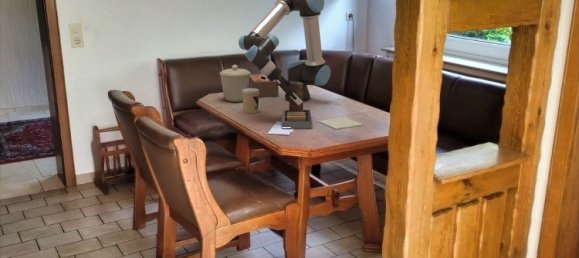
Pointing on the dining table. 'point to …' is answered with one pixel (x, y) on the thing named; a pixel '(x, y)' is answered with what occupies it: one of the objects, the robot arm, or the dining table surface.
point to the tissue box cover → (263, 85)
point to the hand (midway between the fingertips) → (300, 100)
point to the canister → (234, 83)
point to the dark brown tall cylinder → (298, 90)
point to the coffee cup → (250, 100)
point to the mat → (340, 123)
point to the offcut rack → (297, 124)
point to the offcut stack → (296, 116)
